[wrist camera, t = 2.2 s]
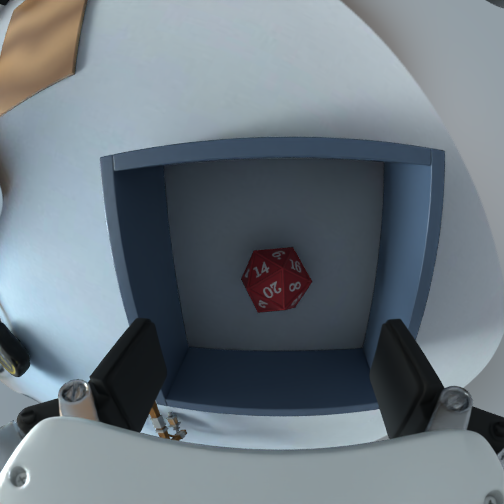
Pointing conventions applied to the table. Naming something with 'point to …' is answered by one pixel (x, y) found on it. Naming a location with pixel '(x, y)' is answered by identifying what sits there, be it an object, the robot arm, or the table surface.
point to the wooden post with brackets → (160, 424)
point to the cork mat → (39, 48)
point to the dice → (275, 279)
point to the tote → (271, 362)
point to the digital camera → (3, 2)
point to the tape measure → (12, 353)
